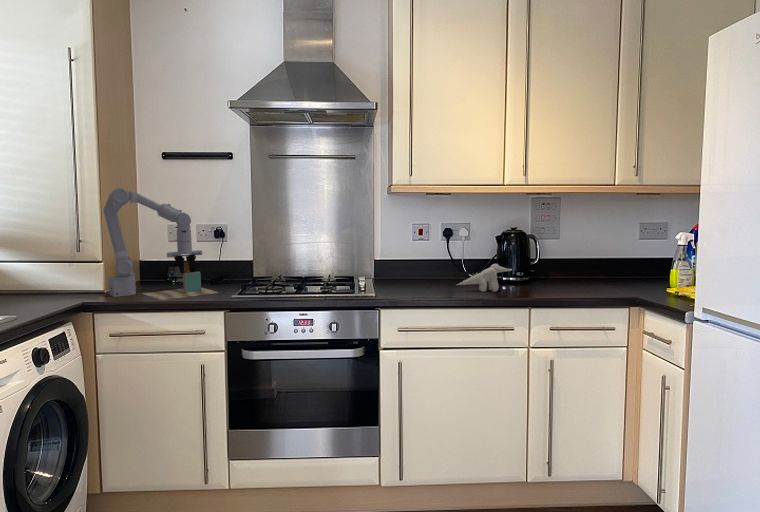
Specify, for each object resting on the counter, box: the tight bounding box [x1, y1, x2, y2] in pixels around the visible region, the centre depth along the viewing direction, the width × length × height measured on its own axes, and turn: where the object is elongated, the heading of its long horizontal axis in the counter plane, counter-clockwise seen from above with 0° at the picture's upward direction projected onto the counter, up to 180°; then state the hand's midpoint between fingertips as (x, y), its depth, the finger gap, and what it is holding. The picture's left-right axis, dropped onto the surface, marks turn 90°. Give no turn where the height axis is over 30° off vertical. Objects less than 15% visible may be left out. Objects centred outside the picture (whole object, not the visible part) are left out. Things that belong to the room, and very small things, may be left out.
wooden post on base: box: [176, 260, 190, 283], centre depth 224 cm, size 6×5×8 cm
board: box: [141, 287, 221, 301], centre depth 217 cm, size 24×22×1 cm
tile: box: [182, 271, 202, 293], centre depth 220 cm, size 7×2×8 cm, turn 133°
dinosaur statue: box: [456, 263, 513, 293], centre depth 218 cm, size 7×24×11 cm, turn 94°
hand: (185, 273), depth 224 cm, fingers closed on wooden post on base, 2 cm apart
